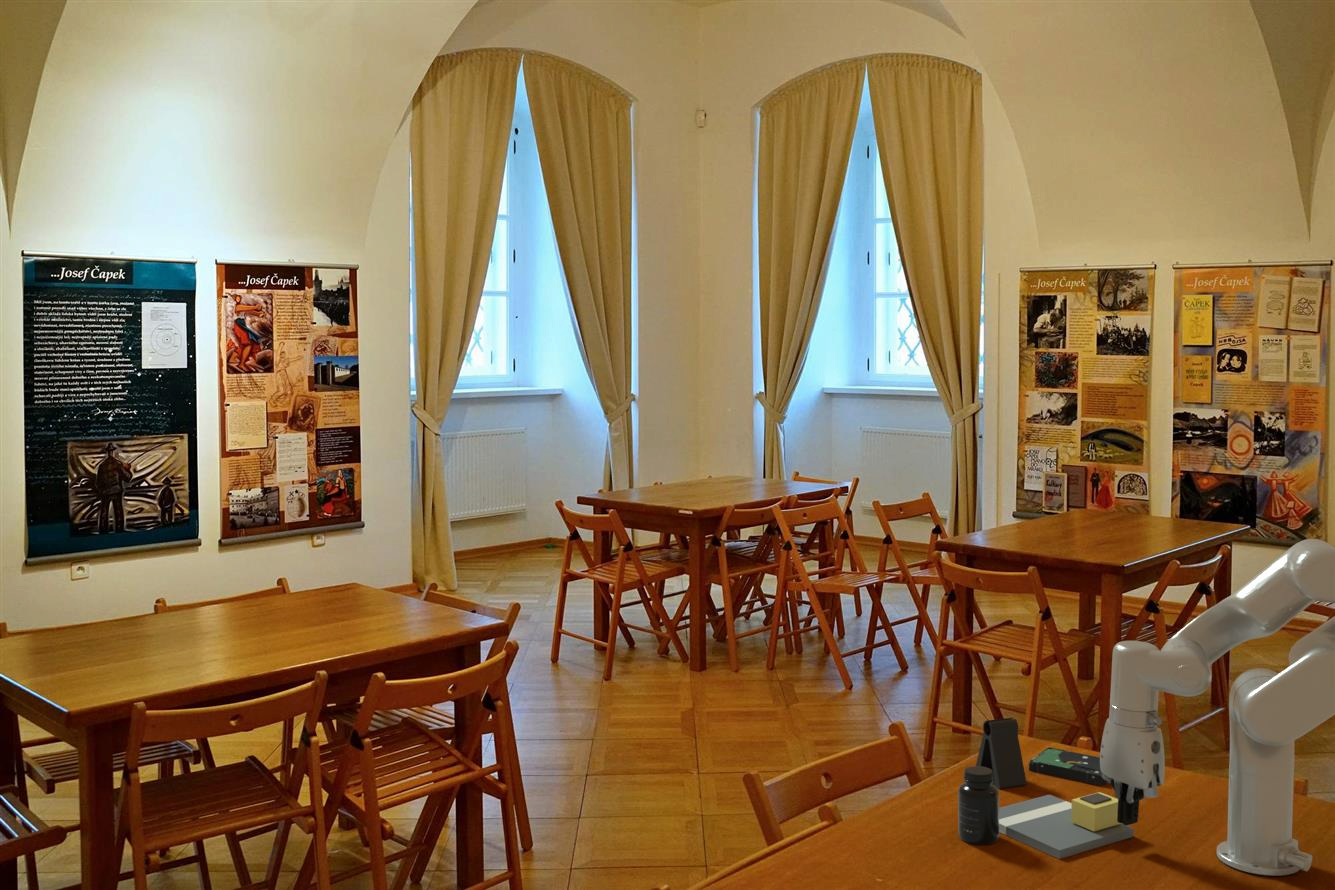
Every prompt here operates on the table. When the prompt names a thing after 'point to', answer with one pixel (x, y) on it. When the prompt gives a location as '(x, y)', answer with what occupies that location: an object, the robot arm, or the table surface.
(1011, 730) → the phone stand
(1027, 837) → the board
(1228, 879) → the table surface
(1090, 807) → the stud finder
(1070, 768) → the disk drive
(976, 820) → the supplement bottle
